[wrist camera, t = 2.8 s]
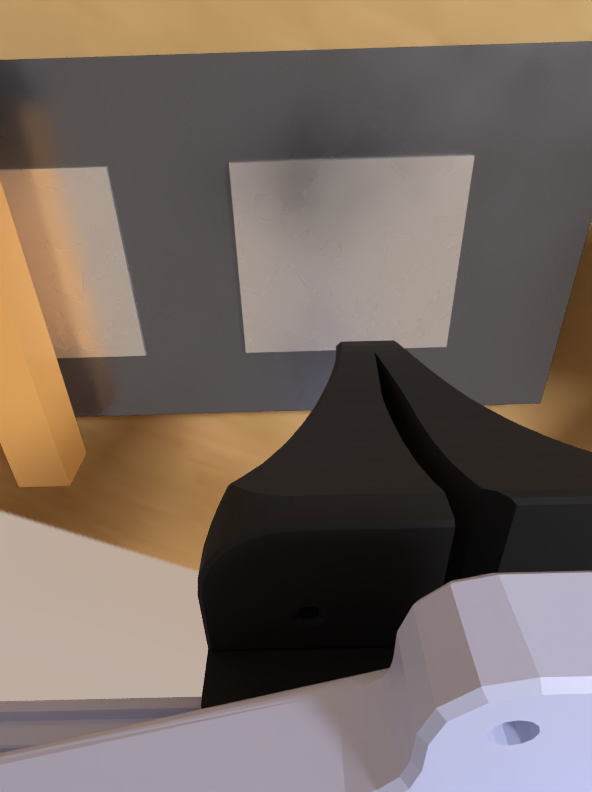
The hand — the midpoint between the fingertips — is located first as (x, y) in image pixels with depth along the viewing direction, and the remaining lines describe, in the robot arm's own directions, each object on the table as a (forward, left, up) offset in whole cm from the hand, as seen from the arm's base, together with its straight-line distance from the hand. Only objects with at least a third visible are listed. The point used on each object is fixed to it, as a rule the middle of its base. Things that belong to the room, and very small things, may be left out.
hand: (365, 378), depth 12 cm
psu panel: (0, +3, -9) cm, 10 cm away
